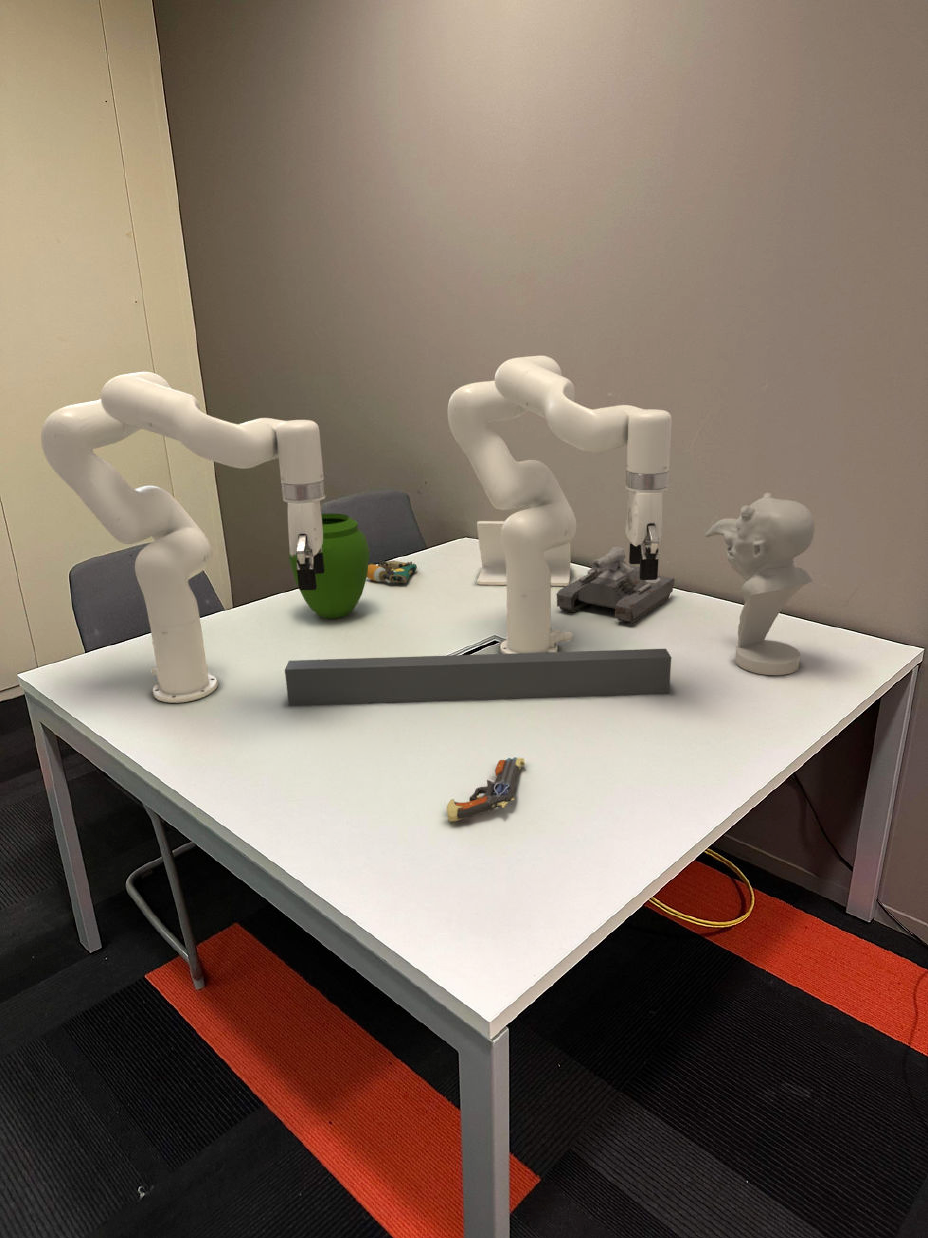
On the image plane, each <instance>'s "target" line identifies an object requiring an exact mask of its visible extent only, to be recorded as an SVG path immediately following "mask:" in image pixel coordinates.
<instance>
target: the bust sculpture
mask: <svg viewBox="0 0 928 1238" xmlns="http://www.w3.org/2000/svg"><path fill="white" fill-rule="evenodd" d="M815 527H816V526H815V520H814V517H813V515H812V513H811V510H809V509H808V508H807V507H806V506H805V505H804V504H802V503H800V502H798V501H796V500H790V499H780V498H774V497H773V494H772V493H770V492H765V493H763V495H762V497H761V498H759V499H757V500H756V501H754V502H752V503H751V504H750V505H743V506H742V507H741V509H740V515H739V517H738V518H737V519H736V518H723V519H719V520H718V521H716V522H715V523H714V524H713V525H712V526H711V528H710V529H709V530H708V531H706V532H705V534H704V536H705V538H711V537H715V536H723V537H724V543H725V544H726V545H727V548H726V549H725V554H726V556H727V560H728V562H729V564H730V565H731V568H732V569H733V571H734V572H736V573H737V574H738V575H739V576H740V577H741V578H742V579H744V581H745V582H744V583H743V585H742V588H741V593H742V597H743V599H744V601H745V602H744V605H743V607H742V609H741V612H740V615H739V623H738V625H737V626H738V627H737V645H736V646H735V654H734V661H735V664H736V665H737V666H738V667H740V668H741V669H744V670H746V671H748V672H750V673H754V674H759V675H766V676H783V675H790V674H792V673H794V672H796V671H798V669H799V668H800V661H801V652H800V651H799V649H797V648H796V647H795V646H792V645H790V644H788V643H784V642H781V641H776V640H769V639H766V637H767V635H768V634H769V631H770V630H771V627H772V626H773V624H774V622H775V620H776V619H777V617H778V616H779V614H780V612H781V611H782V610H783V608H784V607H785V606H786V604H787V603H788V601H790V599H791V597H793V596H794V595H795V594H796V593H797V592H798V591H799V590H801V589H802V588H803V587H805V586H806V585H807V584H809V583H811V582H813V581H814V580H813V579H812V577H811V575H810V574H809V573H808V572H807V571H806V570H805V569H803V568H802V567H799V566H798V567H797V566H795V565H794V563H795V560H794V559H795V558H796V557H799V556H800V555H802V554H803V553H805V552H806V551H807V550H808V549H809V547H810V546H811V544H812V542H813V541H814V537H815V529H816V528H815Z"/></svg>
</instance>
